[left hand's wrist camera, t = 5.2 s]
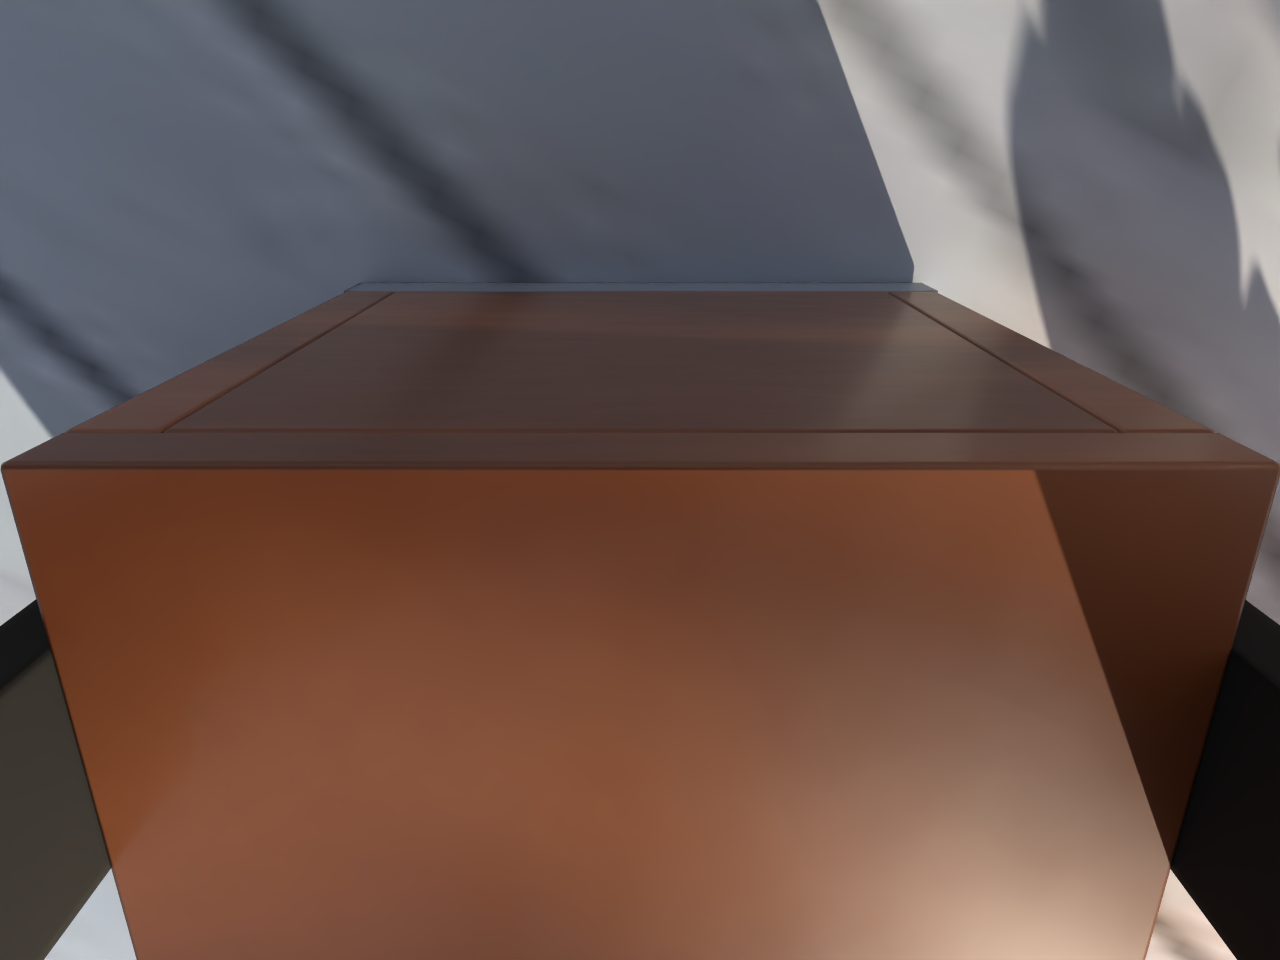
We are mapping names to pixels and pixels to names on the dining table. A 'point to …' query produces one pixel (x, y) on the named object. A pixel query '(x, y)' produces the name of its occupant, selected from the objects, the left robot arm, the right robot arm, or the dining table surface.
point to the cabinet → (640, 630)
